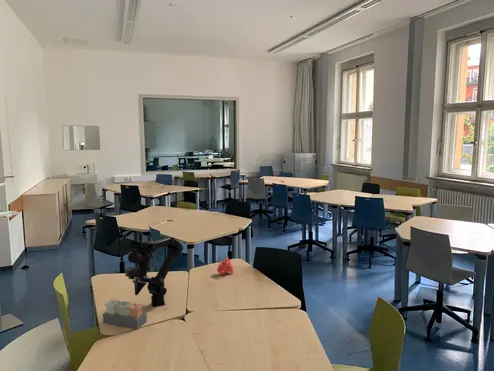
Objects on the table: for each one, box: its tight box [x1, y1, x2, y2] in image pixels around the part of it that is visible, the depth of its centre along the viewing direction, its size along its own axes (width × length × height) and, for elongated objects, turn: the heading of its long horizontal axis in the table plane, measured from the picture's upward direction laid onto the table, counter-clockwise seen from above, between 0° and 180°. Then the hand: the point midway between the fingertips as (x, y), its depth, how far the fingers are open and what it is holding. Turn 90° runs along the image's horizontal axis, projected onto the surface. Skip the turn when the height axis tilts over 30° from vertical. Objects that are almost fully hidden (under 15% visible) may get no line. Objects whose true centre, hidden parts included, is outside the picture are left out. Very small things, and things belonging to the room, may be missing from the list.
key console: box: [102, 311, 148, 330], centre depth 192 cm, size 8×21×5 cm, turn 71°
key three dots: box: [128, 302, 145, 318], centre depth 189 cm, size 6×6×7 cm
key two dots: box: [116, 300, 133, 316], centre depth 192 cm, size 6×6×7 cm
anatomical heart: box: [216, 256, 234, 276], centre depth 258 cm, size 9×12×12 cm
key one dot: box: [104, 299, 122, 314], centre depth 194 cm, size 6×6×7 cm
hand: (135, 295), depth 197 cm, fingers closed
